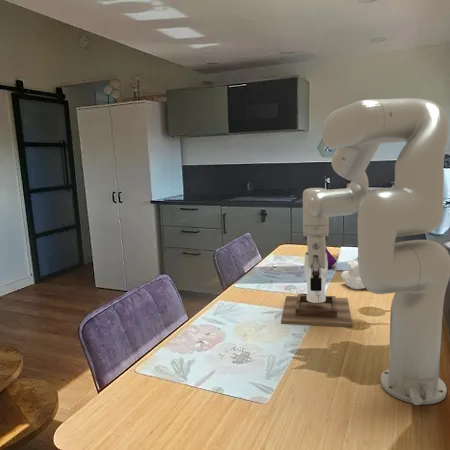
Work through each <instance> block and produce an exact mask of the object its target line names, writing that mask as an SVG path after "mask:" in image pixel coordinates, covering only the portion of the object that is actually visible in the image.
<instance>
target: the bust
mask: <svg viewBox="0 0 450 450" xmlns="http://www.w3.org/2000/svg"><path fill="white" fill-rule="evenodd" d="M347 265H348V270H343V272H341V273H340V274H341V279H342V280H343V281H344V283H345V285H346V286H347V287H349V288H350V289H353V290H363V289H366V288H365V286H364V285H363V283H362V281H361V278H360V274H359V267H358V260H353V261H347Z"/></svg>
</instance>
